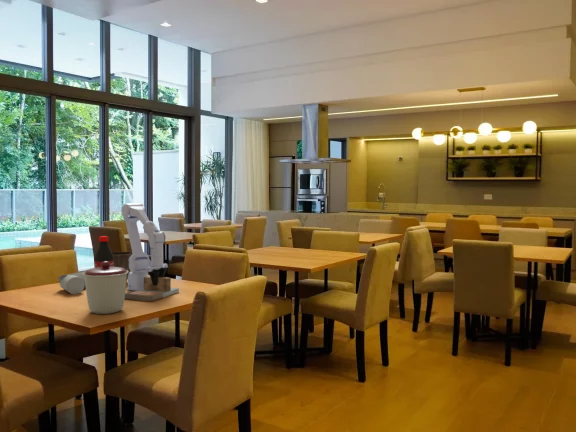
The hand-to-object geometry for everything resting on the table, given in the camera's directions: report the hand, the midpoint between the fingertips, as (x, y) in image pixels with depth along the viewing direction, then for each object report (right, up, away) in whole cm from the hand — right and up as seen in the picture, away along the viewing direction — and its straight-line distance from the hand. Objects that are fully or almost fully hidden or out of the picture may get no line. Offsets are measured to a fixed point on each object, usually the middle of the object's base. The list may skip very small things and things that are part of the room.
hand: (157, 284), depth 254 cm
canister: (-12, -7, -36) cm, 38 cm away
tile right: (-1, -5, -11) cm, 12 cm away
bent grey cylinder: (-43, -4, +10) cm, 44 cm away
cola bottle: (-19, -6, -19) cm, 28 cm away
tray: (-4, -5, -10) cm, 12 cm away
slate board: (0, -5, 0) cm, 5 cm away
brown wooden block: (0, -3, 0) cm, 3 cm away
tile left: (-7, -5, -8) cm, 12 cm away
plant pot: (-28, -3, +31) cm, 42 cm away
